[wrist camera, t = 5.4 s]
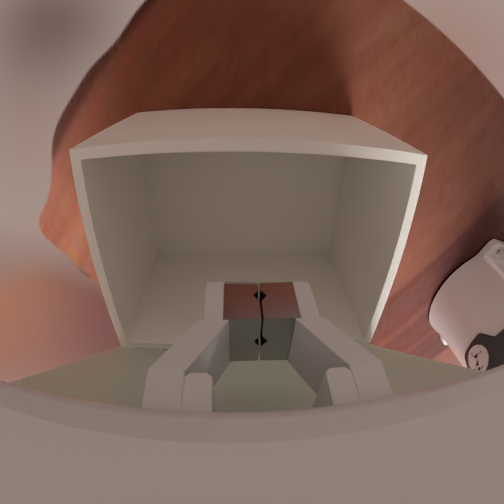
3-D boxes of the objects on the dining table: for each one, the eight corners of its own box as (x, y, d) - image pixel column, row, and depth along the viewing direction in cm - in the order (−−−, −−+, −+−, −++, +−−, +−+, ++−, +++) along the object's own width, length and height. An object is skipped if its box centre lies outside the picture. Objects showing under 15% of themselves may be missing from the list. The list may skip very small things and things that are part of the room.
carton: (352, 115, 24) (427, 155, 14) (331, 254, 31) (369, 344, 21) (137, 112, 23) (69, 149, 13) (153, 254, 30) (121, 346, 20)
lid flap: (517, 377, 7) (514, 397, 7) (371, 344, 21) (371, 354, 21) (-18, 390, 6) (-14, 411, 6) (118, 346, 20) (119, 357, 20)
